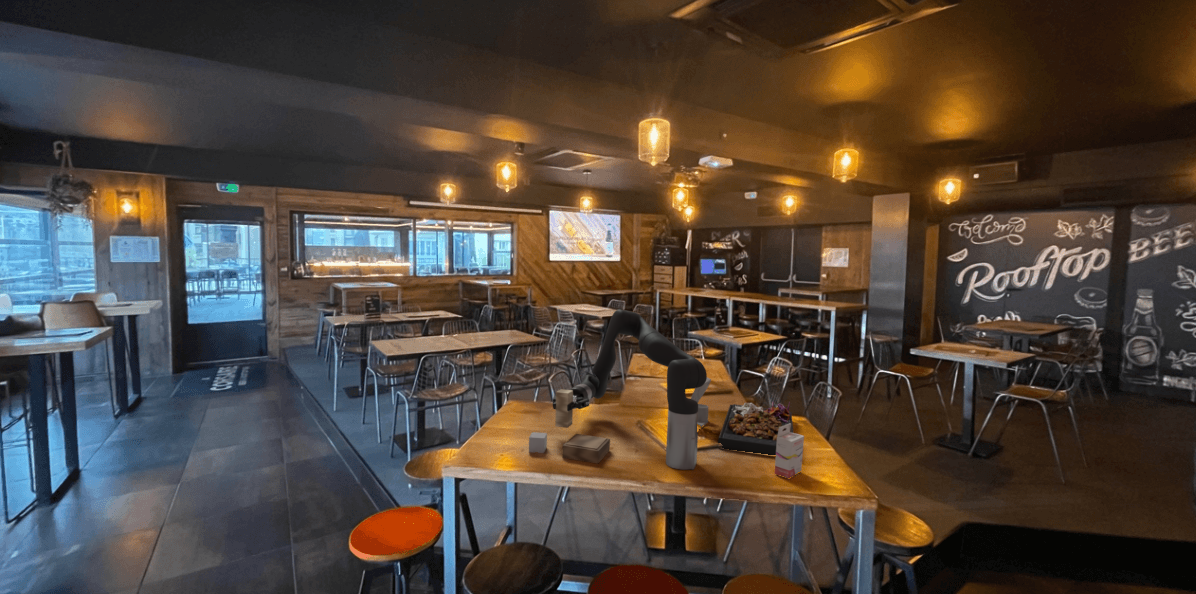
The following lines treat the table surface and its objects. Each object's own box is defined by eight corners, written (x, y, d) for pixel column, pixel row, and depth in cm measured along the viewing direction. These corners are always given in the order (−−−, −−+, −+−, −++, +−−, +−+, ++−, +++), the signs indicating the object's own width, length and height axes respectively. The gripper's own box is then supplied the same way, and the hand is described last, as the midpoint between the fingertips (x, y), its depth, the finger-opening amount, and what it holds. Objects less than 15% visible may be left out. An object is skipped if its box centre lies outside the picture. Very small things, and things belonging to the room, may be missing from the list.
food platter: (729, 414, 220) (730, 390, 219) (790, 422, 212) (792, 397, 211) (717, 450, 177) (719, 420, 176) (794, 461, 169) (796, 431, 168)
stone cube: (546, 447, 173) (547, 433, 172) (543, 453, 168) (544, 438, 167) (531, 446, 173) (532, 432, 173) (528, 452, 168) (529, 437, 168)
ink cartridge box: (789, 480, 153) (792, 431, 152) (773, 475, 156) (776, 427, 155) (802, 472, 159) (805, 426, 158) (786, 467, 162) (789, 422, 161)
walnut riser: (609, 450, 172) (610, 437, 171) (598, 463, 160) (598, 450, 160) (575, 445, 176) (576, 432, 175) (562, 457, 164) (562, 444, 164)
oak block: (572, 424, 181) (573, 390, 180) (567, 427, 177) (568, 393, 176) (560, 422, 182) (561, 389, 182) (555, 426, 178) (556, 392, 177)
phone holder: (685, 416, 213) (687, 373, 212) (709, 420, 208) (712, 376, 207) (671, 428, 197) (673, 381, 196) (697, 432, 193) (699, 385, 192)
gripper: (561, 384, 195) (542, 394, 178) (597, 387, 190) (581, 398, 174) (561, 403, 195) (542, 415, 179) (596, 407, 191) (580, 420, 174)
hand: (561, 407), depth 177 cm, fingers closed on oak block, 4 cm apart
